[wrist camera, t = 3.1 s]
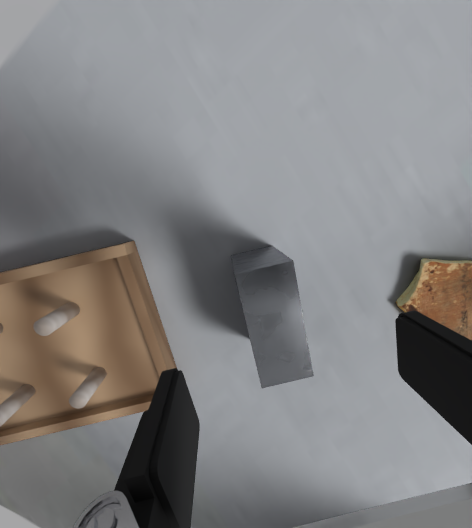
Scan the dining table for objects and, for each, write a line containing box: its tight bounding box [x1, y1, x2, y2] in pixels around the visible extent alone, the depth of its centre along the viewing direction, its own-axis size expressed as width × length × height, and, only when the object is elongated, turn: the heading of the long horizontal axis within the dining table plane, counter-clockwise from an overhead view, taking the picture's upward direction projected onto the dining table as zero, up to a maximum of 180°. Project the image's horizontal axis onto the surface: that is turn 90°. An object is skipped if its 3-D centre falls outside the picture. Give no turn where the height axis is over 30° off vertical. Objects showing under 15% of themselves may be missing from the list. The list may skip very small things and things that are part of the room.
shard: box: [396, 258, 472, 340], centre depth 21 cm, size 11×8×2 cm
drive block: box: [231, 246, 313, 388], centre depth 17 cm, size 4×8×6 cm, turn 13°
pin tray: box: [0, 241, 177, 445], centre depth 18 cm, size 18×14×4 cm
